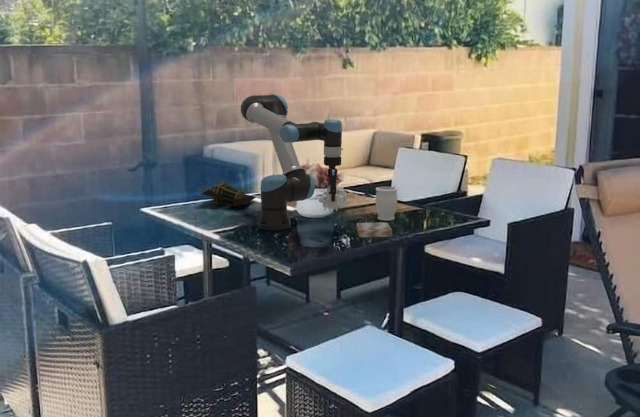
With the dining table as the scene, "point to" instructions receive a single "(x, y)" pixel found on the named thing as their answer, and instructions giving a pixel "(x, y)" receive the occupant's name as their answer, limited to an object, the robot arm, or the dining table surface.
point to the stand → (374, 230)
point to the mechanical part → (339, 198)
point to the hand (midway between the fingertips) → (332, 205)
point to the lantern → (227, 195)
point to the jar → (386, 203)
